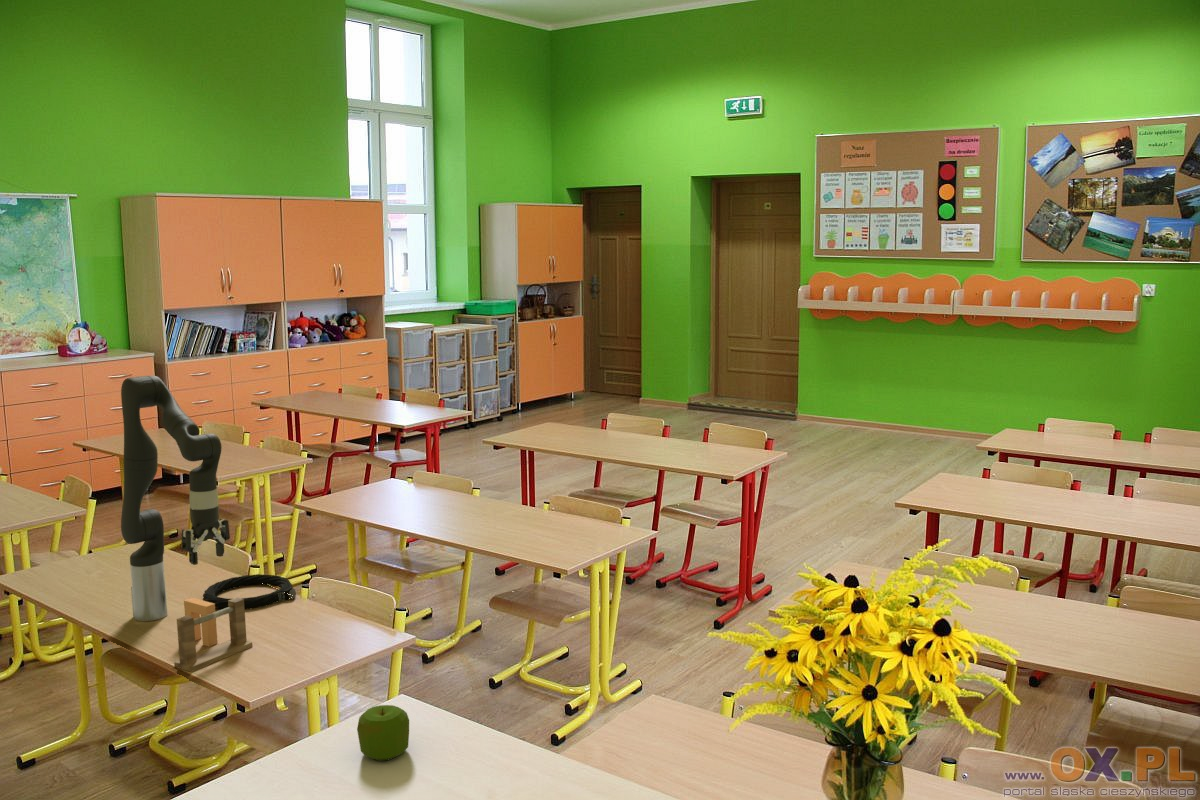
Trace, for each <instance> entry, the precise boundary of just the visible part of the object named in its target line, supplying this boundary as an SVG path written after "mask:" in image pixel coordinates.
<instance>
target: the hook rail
mask: <svg viewBox="0 0 1200 800" xmlns="http://www.w3.org/2000/svg"><path fill="white" fill-rule="evenodd" d="M230 599H231V600H229V601H228V607H227V608H224V609H219V610H217V611H216V610H215V612H214V613H211V614H208V615H205V616H203V617H201V616H200V618H197V619H194V618H193V617H190V616H185V615H184V616H182V617H179V618H176V628H177V629H176V631H177V640H178V642H177V643H178V655H179V660H176V661H174V662H173V663H174V667H175V668H178V669H181V670H185V671H188V672H190V673H191V672H193V671H194V672H195V671H196V670H199V669H201V668H203V667H206V666H208V665H210V664H213V663H216V662H219V661H220V660H223V659H225V658H227V657H230V656H232V655H234V654H235V655H236V654H238V653H239V652H242V651H244V650H246V649H249V648H252V647H253V641H251V640H250V641H249V640H247V628H246V627H247V625H246V611H245V610H246V609H245V608H244V599H241V598H240V597H234V598H230ZM227 614H228V619H229V621H228V622H229V633H230V634H229V635H230V639H229V640H227V641H224V642H221V643H219V644H218V643H217V644H215V645H212V646H210V647H209V648H205V649H204V650H201V651H198V652H197V647H196V645H197V644H196V641H195V631H194V626H195V625H198V624H200V625H201V623H203V622H206V621H209V620H211V619H214V618H216V619H217V618H219V617H222V616H224V615H227Z"/></svg>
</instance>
